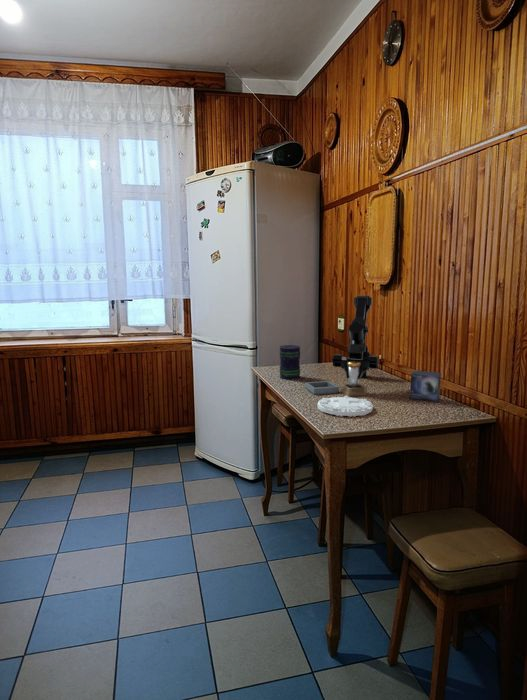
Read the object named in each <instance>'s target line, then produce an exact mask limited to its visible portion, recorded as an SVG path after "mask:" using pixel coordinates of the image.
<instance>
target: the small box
mask: <svg viewBox="0 0 527 700" xmlns="http://www.w3.org/2000/svg"><path fill="white" fill-rule="evenodd" d="M441 376H442V373H441V372H434V371H423V370H413V371H412V372H411V373H410V393H409V399H410V400H418V401H427V402H433V403H438V401H440V393H441V392H440V389H441Z"/></svg>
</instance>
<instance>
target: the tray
mask: <svg viewBox="0 0 527 700" xmlns="http://www.w3.org/2000/svg"><path fill="white" fill-rule="evenodd" d="M304 389H305V390H306V389H307V390H306V391H308V392H309V393H311V394H312V395H315V396H316V395H327V394H338V393H340V390H339V389H340V387H339V386H338V385H336V384H334V383H333V382H331V381H330V380H328V381H327V380H326V381H311V382H310V381H309V382H304Z"/></svg>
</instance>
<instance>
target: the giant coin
mask: <svg viewBox="0 0 527 700" xmlns="http://www.w3.org/2000/svg"><path fill="white" fill-rule="evenodd" d="M317 410H319V411H320V412H321V413H325V414H326V413H327V414H328V415H335V416H336V417H340V418H342V417H346V416H347V417H348V418H349V417H350V418H351V417H353V418H356V416H360V417H362V416H367V414H370V413H372V412H373V410H374V405H373V403H372V402H371V401H368V399H366V398H355V397H349V396H347V395H344V396H340V397H339V396H338V397H337V396H336V397H335V396H334V397H322V398H321V399H319V400H318V402H317Z"/></svg>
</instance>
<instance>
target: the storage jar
mask: <svg viewBox="0 0 527 700" xmlns="http://www.w3.org/2000/svg"><path fill="white" fill-rule="evenodd" d="M279 359H280V360H279V363H280V364H279V379H281V380H289V381H293V380H298V379H301V376H300V374H301V365H300V359H301V346H300V345H296V344H295V345H293V344H289V345H288V344H286V345H281V346H279Z"/></svg>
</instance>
